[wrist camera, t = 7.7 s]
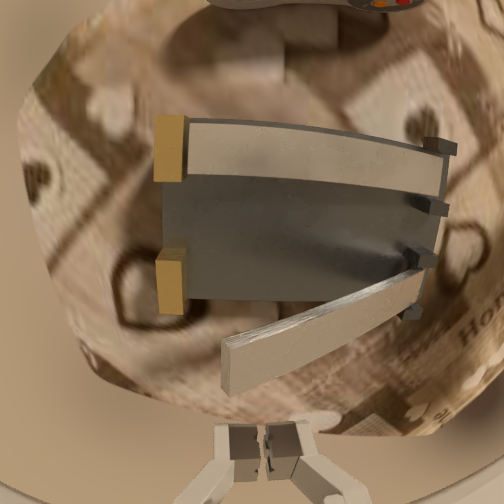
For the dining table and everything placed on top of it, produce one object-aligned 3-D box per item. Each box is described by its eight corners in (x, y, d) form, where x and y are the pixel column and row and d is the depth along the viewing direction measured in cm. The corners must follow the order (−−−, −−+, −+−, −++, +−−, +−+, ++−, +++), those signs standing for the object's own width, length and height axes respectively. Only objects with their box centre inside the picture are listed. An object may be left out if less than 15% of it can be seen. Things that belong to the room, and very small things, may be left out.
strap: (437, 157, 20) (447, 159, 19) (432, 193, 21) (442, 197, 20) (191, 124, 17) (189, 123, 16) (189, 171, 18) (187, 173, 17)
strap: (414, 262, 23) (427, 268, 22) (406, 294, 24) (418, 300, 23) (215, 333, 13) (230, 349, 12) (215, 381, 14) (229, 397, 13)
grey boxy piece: (413, 141, 25) (469, 146, 17) (390, 280, 30) (430, 320, 22) (179, 113, 23) (156, 101, 15) (177, 275, 28) (160, 324, 20)
